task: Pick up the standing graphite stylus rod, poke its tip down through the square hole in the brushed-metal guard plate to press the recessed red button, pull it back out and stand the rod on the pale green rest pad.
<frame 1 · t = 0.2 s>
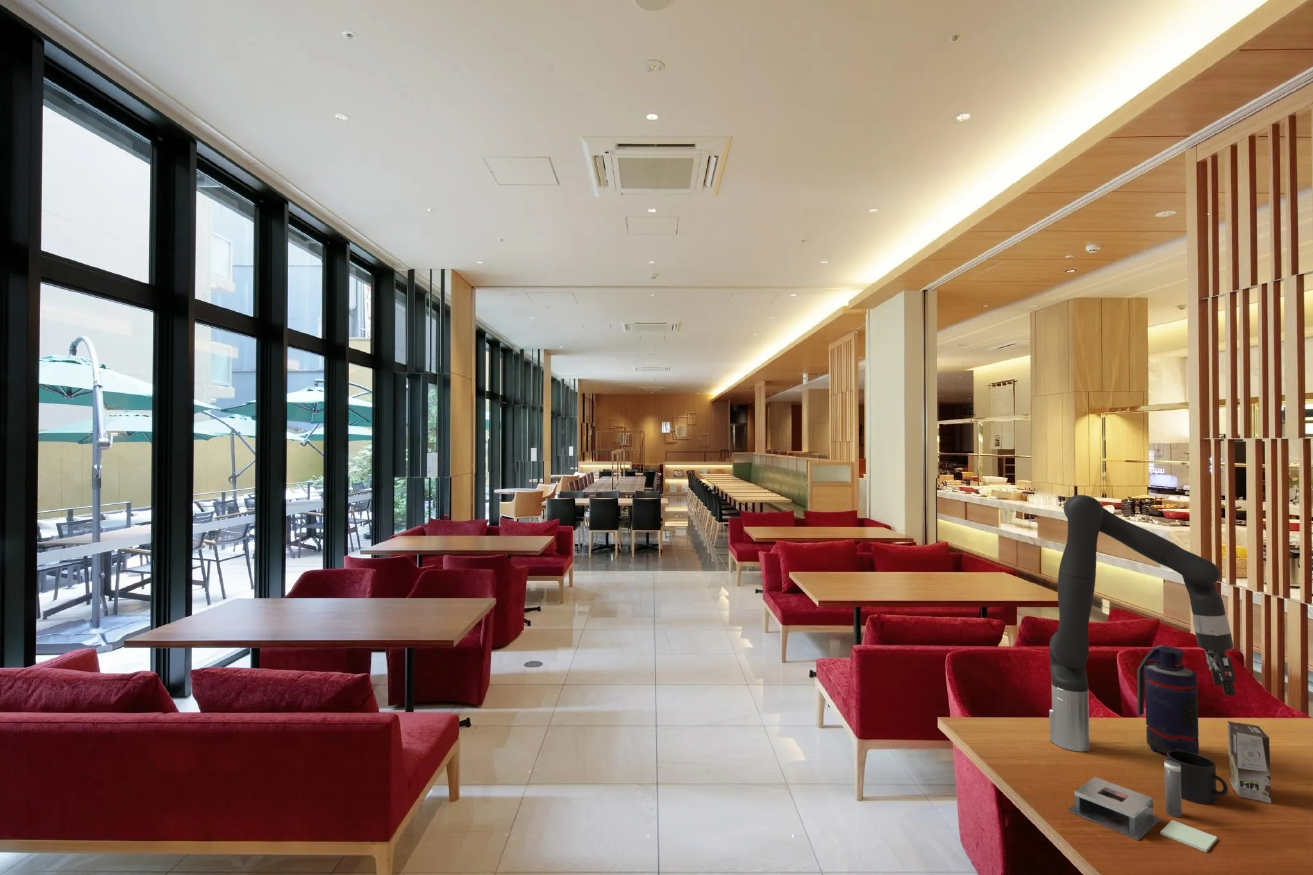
hand: (1224, 690, 170), 22 cm above the table, tool pointing down, fingers open, 8 cm apart
mug: (1198, 797, 157), on the table
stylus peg: (1173, 813, 149), on the table
button: (1113, 803, 148), point 3 cm above the table, slide at 0.0 cm
rest pad: (1188, 836, 139), on the table
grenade: (1168, 751, 182), on the table
grey boxy piece: (1113, 815, 148), on the table
coffee box: (1250, 793, 159), on the table
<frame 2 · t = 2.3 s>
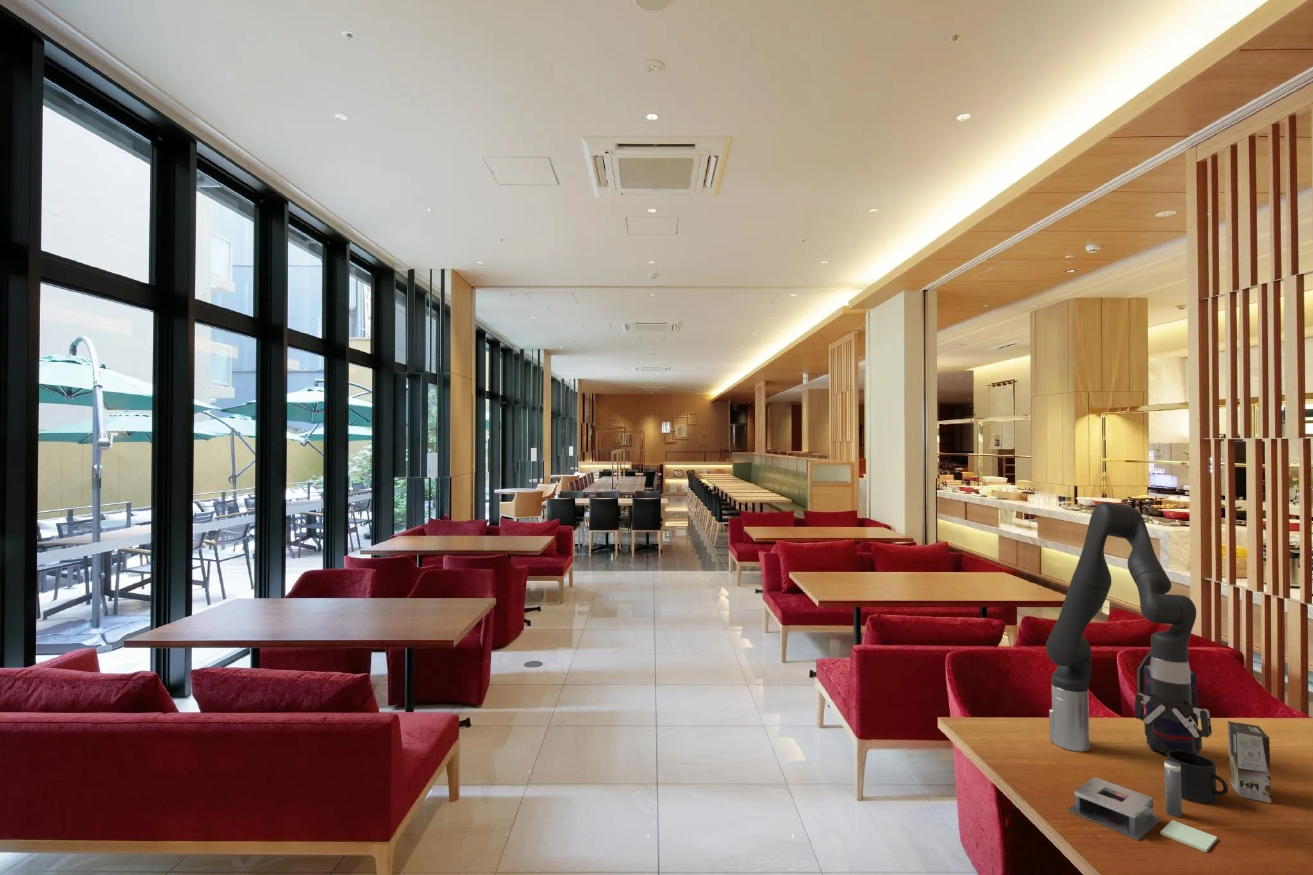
hand: (1172, 745, 149), 16 cm above the table, tool pointing down, fingers open, 8 cm apart
nothing on the table moved.
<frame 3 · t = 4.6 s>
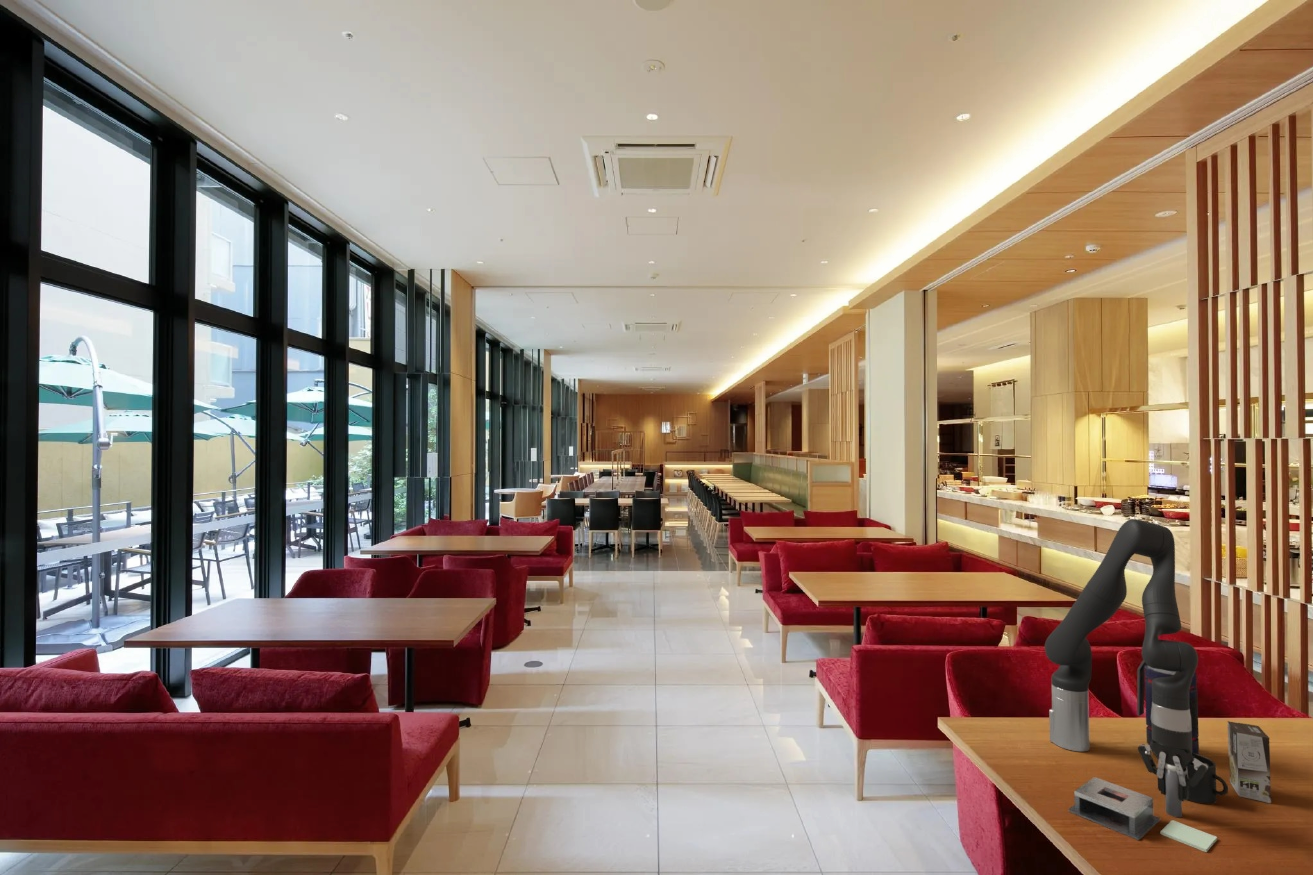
hand: (1173, 796, 149), 4 cm above the table, tool pointing down, fingers closed on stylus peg, 3 cm apart
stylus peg: (1173, 813, 149), on the table, touching gripper
everything else where it was.
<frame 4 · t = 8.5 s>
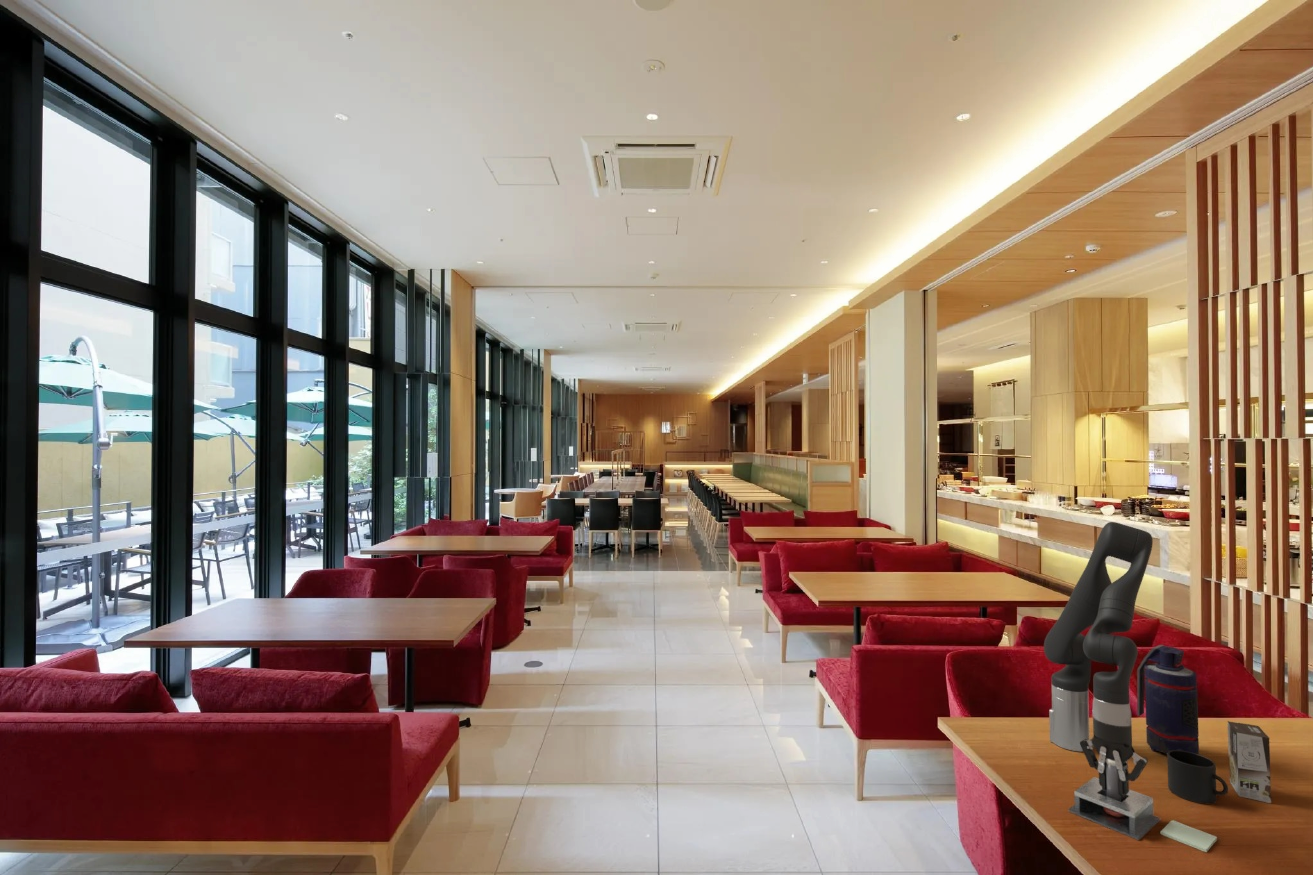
hand: (1113, 791, 148), 6 cm above the table, tool pointing down, fingers closed on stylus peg, 3 cm apart
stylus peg: (1114, 808, 148), point 2 cm above the table, touching button, gripper
button: (1113, 810, 148), point 1 cm above the table, slide at 1.6 cm, touching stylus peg
everything else where it was.
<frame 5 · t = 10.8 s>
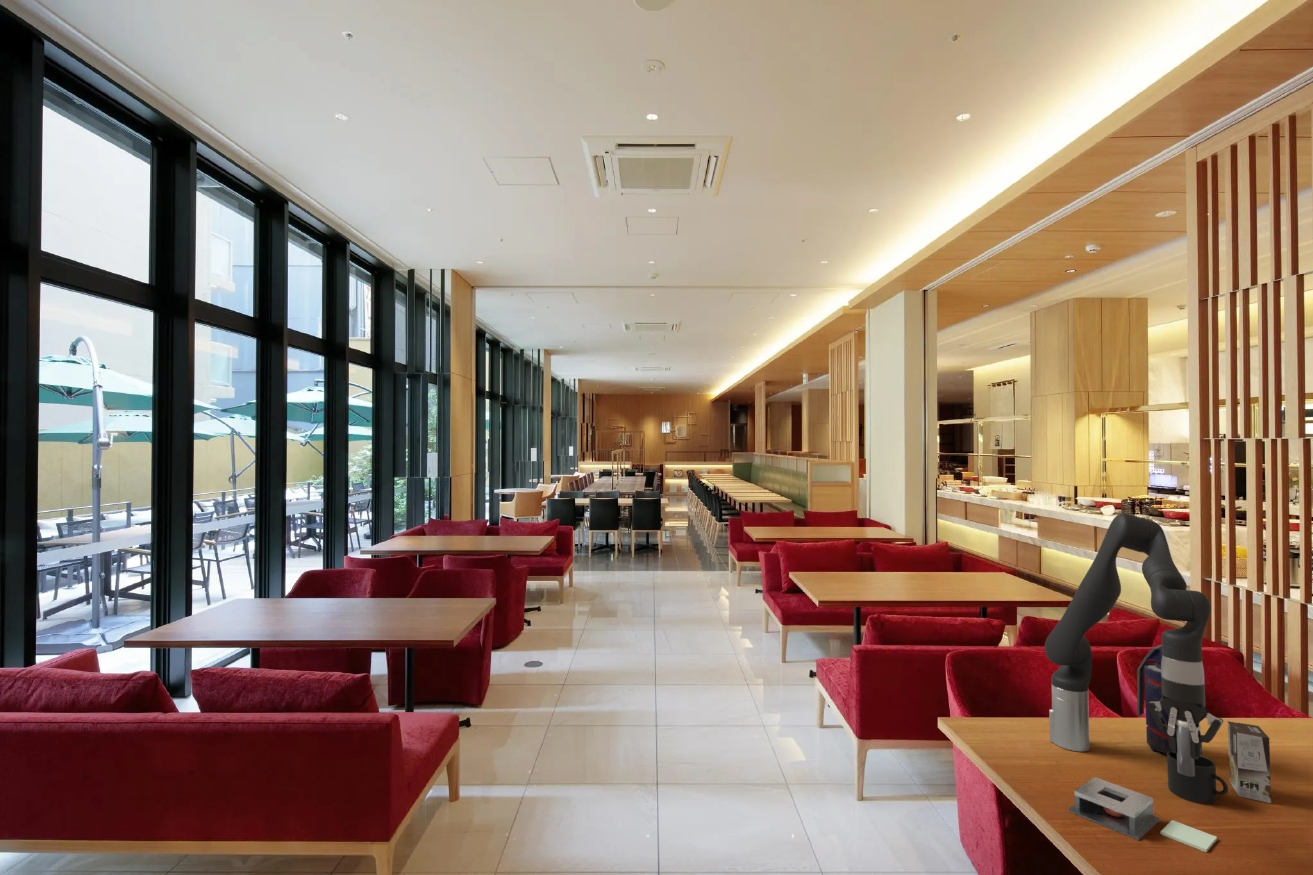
hand: (1185, 754, 140), 18 cm above the table, tool pointing down, fingers closed on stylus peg, 3 cm apart
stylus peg: (1186, 773, 140), point 14 cm above the table, touching gripper
button: (1113, 810, 148), point 1 cm above the table, slide at 1.6 cm
everything else where it was.
when the fingers open (5 cm above the table, at t = 13.0 s): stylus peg stays where it is, resting on rest pad.
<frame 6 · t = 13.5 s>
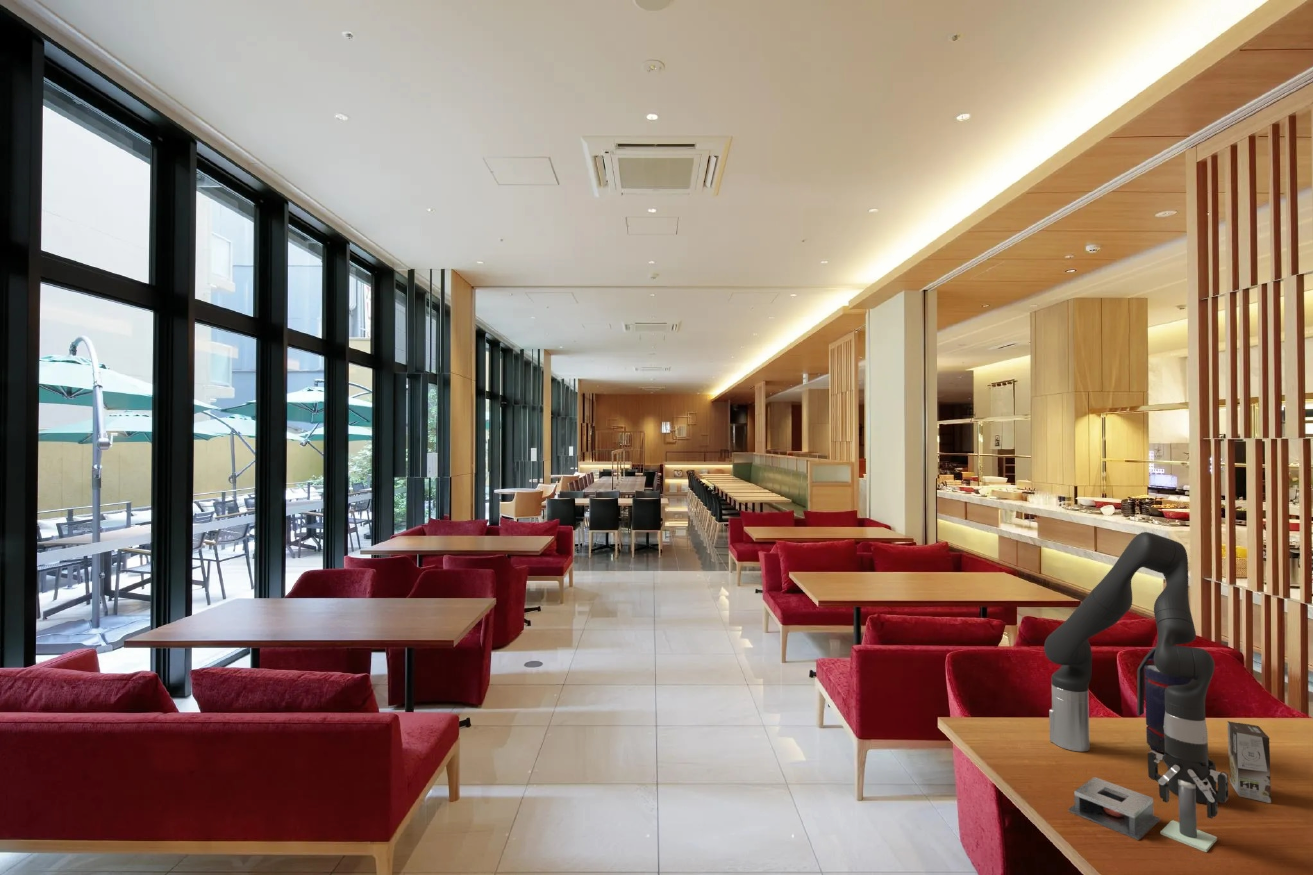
hand: (1187, 808, 140), 6 cm above the table, tool pointing down, fingers open, 7 cm apart
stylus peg: (1188, 833, 140), point 1 cm above the table, touching rest pad
everything else where it was.
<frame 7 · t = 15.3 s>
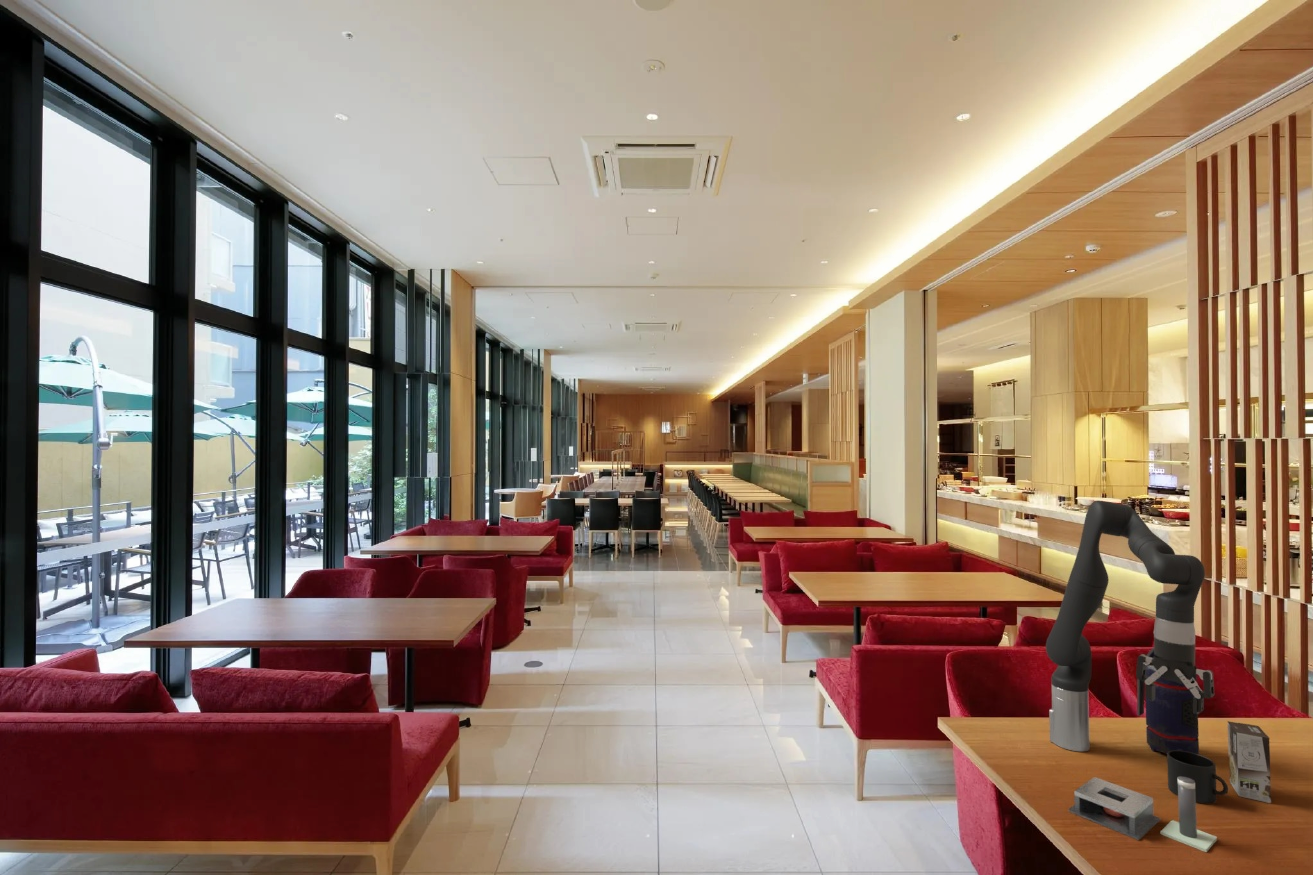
hand: (1173, 706, 147), 27 cm above the table, tool pointing down, fingers open, 8 cm apart
nothing on the table moved.
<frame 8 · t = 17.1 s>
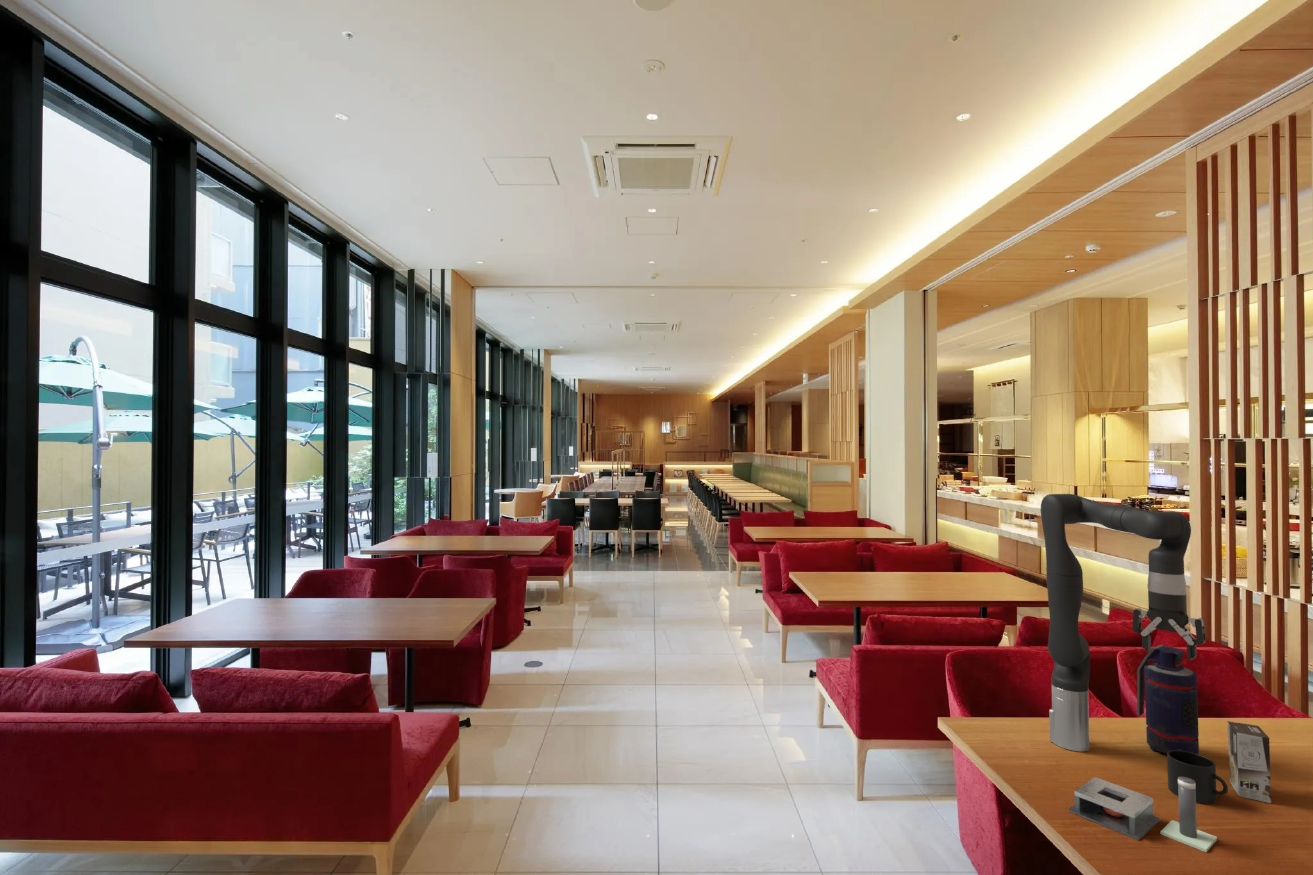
hand: (1168, 655, 156), 36 cm above the table, tool pointing down, fingers open, 8 cm apart
nothing on the table moved.
at the end: button slide at 1.6 cm; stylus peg inside the target area on the rest pad (0.1 cm from its centre), point 0.6 cm above the rest pad's base; the gripper is holding nothing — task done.
